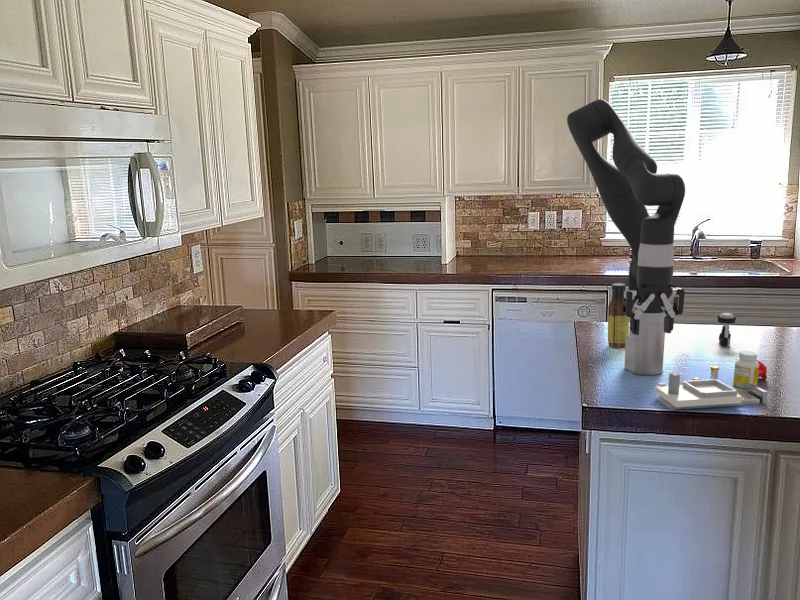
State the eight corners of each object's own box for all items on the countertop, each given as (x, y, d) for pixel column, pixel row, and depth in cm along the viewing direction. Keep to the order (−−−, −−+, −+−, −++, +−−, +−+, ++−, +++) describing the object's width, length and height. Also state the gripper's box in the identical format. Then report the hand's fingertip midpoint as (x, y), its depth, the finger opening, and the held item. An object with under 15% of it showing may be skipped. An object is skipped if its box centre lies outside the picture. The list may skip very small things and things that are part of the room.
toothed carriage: (676, 407, 152) (677, 381, 151) (652, 391, 163) (653, 367, 161) (741, 403, 154) (743, 378, 152) (713, 387, 164) (715, 363, 163)
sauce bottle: (631, 346, 207) (635, 283, 203) (622, 350, 202) (626, 286, 198) (612, 342, 211) (614, 281, 207) (602, 346, 207) (605, 284, 203)
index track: (671, 409, 154) (672, 384, 153) (647, 393, 165) (648, 369, 164) (766, 403, 157) (768, 379, 155) (736, 387, 168) (738, 364, 167)
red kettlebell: (753, 375, 167) (772, 361, 168) (735, 361, 172) (753, 348, 172) (755, 393, 172) (773, 380, 173) (737, 379, 177) (755, 367, 177)
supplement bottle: (739, 393, 164) (742, 356, 162) (728, 386, 169) (731, 350, 167) (761, 393, 164) (764, 355, 162) (750, 385, 169) (753, 349, 167)
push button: (712, 341, 210) (714, 311, 208) (730, 342, 209) (733, 311, 207) (717, 347, 204) (719, 315, 202) (735, 348, 203) (738, 316, 201)
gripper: (676, 259, 154) (672, 328, 157) (617, 261, 152) (614, 331, 156) (694, 264, 147) (689, 336, 150) (632, 266, 145) (628, 339, 148)
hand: (651, 333), depth 153 cm, fingers open, 7 cm apart
